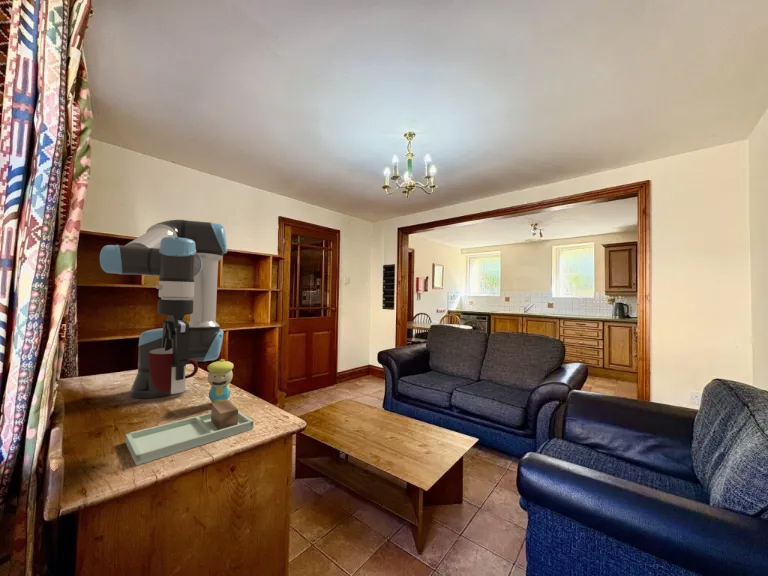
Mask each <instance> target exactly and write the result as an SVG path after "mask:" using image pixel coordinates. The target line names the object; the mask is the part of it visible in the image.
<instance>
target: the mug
mask: <svg viewBox="0 0 768 576" xmlns="http://www.w3.org/2000/svg"><path fill="white" fill-rule="evenodd" d="M181 360H182V359H181ZM171 364H173V351H172V348H171V349H170V350H168V351H165V348H160V349H154V350H151V351H149V355H148V365H149V371H150V377H151V382H152V384H153V386H154V387H155V389H156V390H157V392H160V393H166V392H171V376H172V367H171V368H170V365H171ZM189 364H192V365H193V371H192V373H190V374H187V375H185V380H186V379H190V378H193V376H195V375H196V374H197V373H198V371H199V364H198V361H195V360H194V359H189Z"/></svg>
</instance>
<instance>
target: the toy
mask: <svg viewBox="0 0 768 576" xmlns="http://www.w3.org/2000/svg"><path fill="white" fill-rule="evenodd" d="M206 368H207V371H208V374H207V381H208V384H209V385H210V386H211V387H210V389H209V392H208V398H209V400H210V402H211V404H212V403H217V402H222V401H227V400H229V398H230V396H231V393H232V392H231V388H230V383H231V382H232V380H233V377H234V374H233V369H234V363H233V362H231V361H228V360H227V361H226V359H224V358H221V359H219V360H218V361H217V360H216V361H214V362H212V363H210V364H209V365H208V366H207V367H206Z"/></svg>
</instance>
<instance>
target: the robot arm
mask: <svg viewBox="0 0 768 576" xmlns="http://www.w3.org/2000/svg"><path fill="white" fill-rule="evenodd" d="M226 236H227V235H226V230H225V226H223V224H221V223H214V222H212V221H211V222H209V221H207V222H206V221H199V220H198V221H196V220H188V219H187V220H186V219H171V220H170V219H169V220H165V221H161V222H157V223H155V224H153V225H151V226H149V227H148V228H147V230H146V231H145V233H143V234H142V235H140V236H138V237H137V238H135V239H133V240H132V241H129V242H128V243H127V244H125V245H120V244H115V245H114V244H107V245H105V246H104V245H103V247H102V248H101V250H100V253H99V264H100V268H101V269H102V271H104V272H105V273H107V274H118V275H120V276H121V275H134V276H135V275H136V276H137V275H140V276H158V277H159V278H158V284H156V286H155V289H157V290H158V297H159V298H161V299H159V300H158V301H157V314H158V315H163V316H166V318H165V319H163V320H162V328H161V327H160V328H154V329H153V328H152V329H150V330H146V331H143V332H141V334H140V335H139V339H138V345H137V346H138V356H137V359H138V360H137V373H136V376H135V378H134V381H133V384H132V386H131V389H130V397H132V398H134V399H143V400H144V399H145V400H146V399H155V398H162V397H166V396H171V395H174V394H180V393H185V392H186V390H185V389H186V388H185V387H186V379H185V376H186V367H187V365H189V364H190V363H189V359H194V360H195V361H196V362H203V363H204V362H208V361H215V360H216V361H217V359H218V358H219V357H220V353H221V350H222V346H223V339H224V330H222V329H221V328H220V327H221V326H220V324H219V323H217V321H216V320H217V317H216V315H217V299H218V298H217V297H218V295H217V293H218V292H217V291H218V276H219V275H218V274H219V273H218V272H219V262H220V261H221V260H222V259H223V257H224V255H225V254H227V253H228V243H227V237H226ZM186 315H189V316H190V317H189V322H188V323H187V321H186V320H185V319H186V318H185V316H186ZM160 348H165V351H168V350H170V349H171V348H172V351H173V364H171V365H170V368H171V367H172V376H171V392H166V393H160V392H157V390H156V389H155V387H154V386H153V384H152V382H151V377H150V371H149V365H148V355H149V351H151V350H154V349H160ZM181 359H182V360H181Z"/></svg>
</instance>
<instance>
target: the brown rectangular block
mask: <svg viewBox="0 0 768 576" xmlns="http://www.w3.org/2000/svg"><path fill="white" fill-rule="evenodd" d="M238 411H239V409H238V408H237V407H236V406H235V405H234V404H233V403H232V402H231V401H230V400H229V399H228V400H227V401H222V402H217V403H212V402H211V412H210V413H211V421H212V423H213V424H214V425H215V427H216V428H217V429H218V430H221V429H224V428H228V427H231V426H234V425H238Z"/></svg>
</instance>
